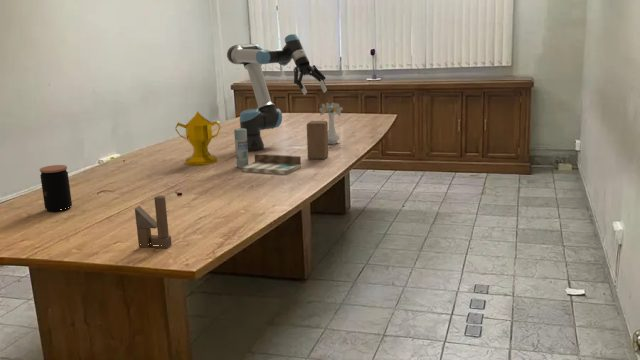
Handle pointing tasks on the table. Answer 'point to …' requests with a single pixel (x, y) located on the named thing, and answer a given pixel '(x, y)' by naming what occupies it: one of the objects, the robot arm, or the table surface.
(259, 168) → the marking board
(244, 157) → the spray paint can
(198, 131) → the trophy cup
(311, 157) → the wooden block
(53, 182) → the coffee jar
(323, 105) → the flower vase
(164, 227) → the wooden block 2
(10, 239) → the table surface
